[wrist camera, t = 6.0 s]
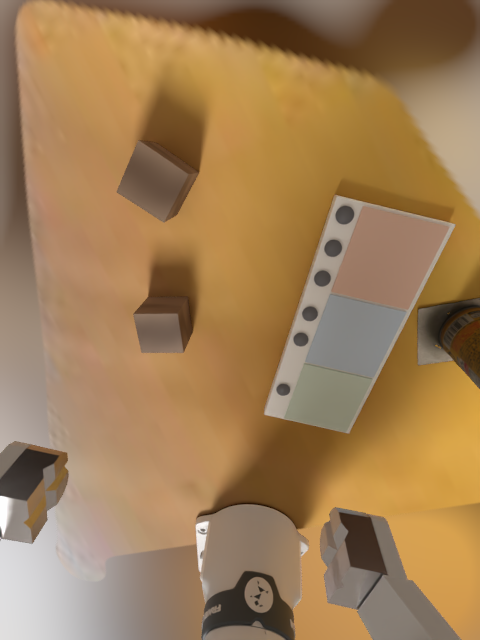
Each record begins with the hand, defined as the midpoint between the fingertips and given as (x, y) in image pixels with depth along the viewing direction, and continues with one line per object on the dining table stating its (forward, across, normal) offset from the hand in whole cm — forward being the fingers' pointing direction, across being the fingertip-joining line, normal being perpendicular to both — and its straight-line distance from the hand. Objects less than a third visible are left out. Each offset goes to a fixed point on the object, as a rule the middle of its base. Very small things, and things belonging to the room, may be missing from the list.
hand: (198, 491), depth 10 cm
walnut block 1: (+26, -9, +6) cm, 28 cm away
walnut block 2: (+26, -7, -8) cm, 29 cm away
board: (+26, +12, -5) cm, 29 cm away
